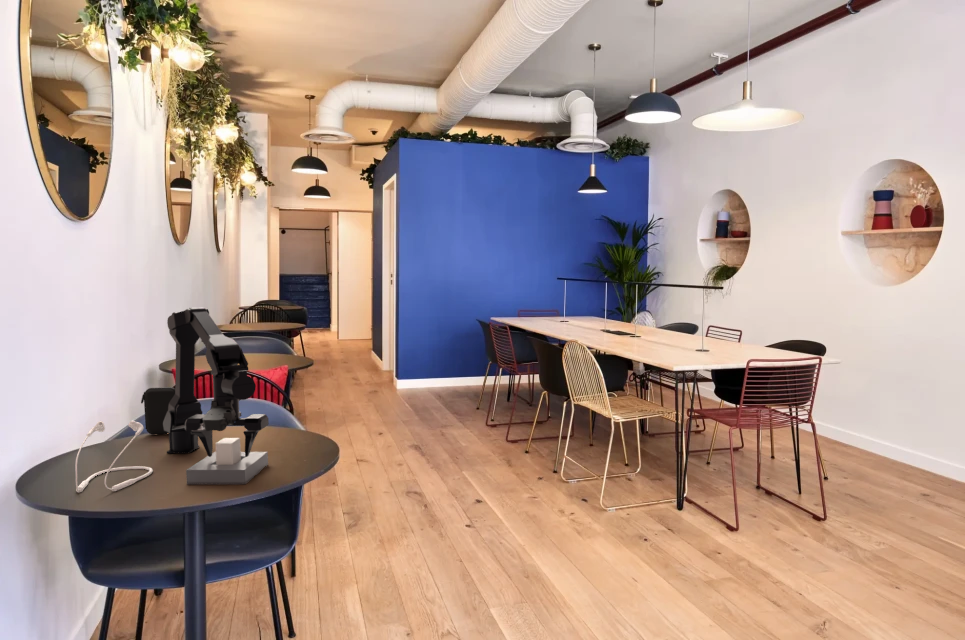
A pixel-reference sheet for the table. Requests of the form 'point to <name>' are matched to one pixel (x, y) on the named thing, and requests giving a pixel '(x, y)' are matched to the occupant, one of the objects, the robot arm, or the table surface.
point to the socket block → (227, 470)
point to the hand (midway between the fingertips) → (228, 456)
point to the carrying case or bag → (156, 408)
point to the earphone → (100, 427)
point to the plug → (228, 451)
